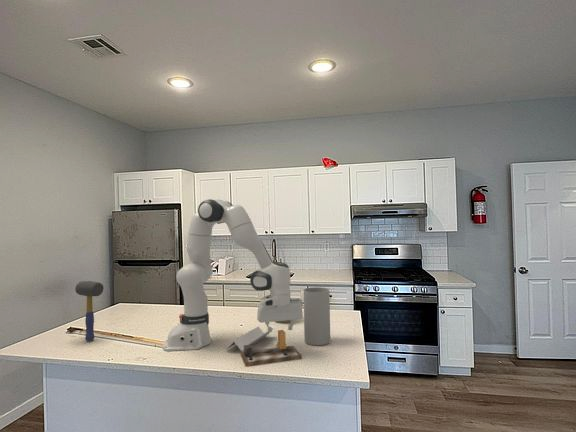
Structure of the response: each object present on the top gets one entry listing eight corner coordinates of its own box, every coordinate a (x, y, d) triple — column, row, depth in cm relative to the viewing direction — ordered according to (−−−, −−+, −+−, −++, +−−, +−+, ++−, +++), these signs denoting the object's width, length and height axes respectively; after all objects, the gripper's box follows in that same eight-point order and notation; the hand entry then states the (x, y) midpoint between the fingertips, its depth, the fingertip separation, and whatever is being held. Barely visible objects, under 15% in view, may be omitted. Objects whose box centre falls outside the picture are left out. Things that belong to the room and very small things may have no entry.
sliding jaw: (282, 355, 145) (282, 336, 145) (277, 347, 153) (277, 330, 153) (289, 354, 145) (289, 336, 146) (283, 346, 154) (283, 329, 154)
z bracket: (233, 360, 153) (225, 349, 155) (258, 343, 176) (250, 334, 178) (251, 342, 150) (242, 331, 152) (273, 328, 174) (265, 318, 175)
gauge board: (245, 366, 139) (245, 354, 139) (240, 355, 150) (240, 344, 150) (301, 358, 146) (301, 346, 146) (293, 348, 157) (292, 337, 157)
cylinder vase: (303, 345, 161) (302, 292, 161) (305, 336, 173) (305, 287, 174) (329, 346, 159) (328, 292, 159) (330, 337, 171) (329, 287, 172)
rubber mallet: (74, 342, 171) (73, 281, 172) (87, 337, 178) (87, 279, 179) (92, 345, 167) (91, 283, 167) (105, 340, 174) (104, 280, 174)
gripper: (300, 296, 158) (300, 326, 158) (256, 299, 152) (256, 330, 152) (304, 299, 152) (304, 330, 152) (259, 302, 146) (259, 335, 146)
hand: (280, 330), depth 152 cm, fingers open, 8 cm apart
